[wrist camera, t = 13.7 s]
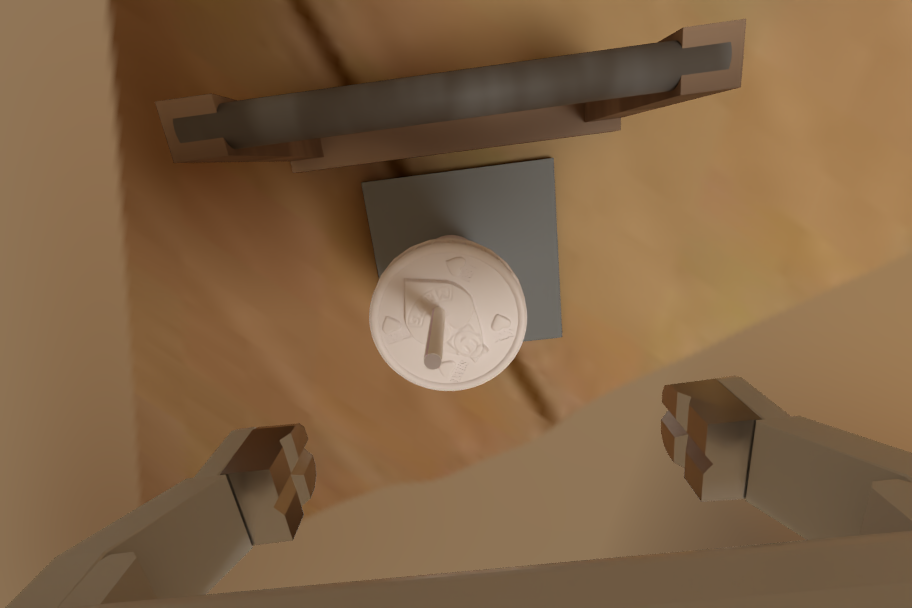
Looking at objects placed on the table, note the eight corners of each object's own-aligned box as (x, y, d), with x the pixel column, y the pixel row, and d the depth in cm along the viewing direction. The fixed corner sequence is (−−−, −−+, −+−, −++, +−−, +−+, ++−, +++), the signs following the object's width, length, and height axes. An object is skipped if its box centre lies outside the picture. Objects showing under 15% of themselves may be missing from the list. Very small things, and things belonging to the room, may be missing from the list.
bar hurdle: (287, 116, 24) (142, 79, 13) (612, 72, 23) (754, -8, 12) (300, 172, 25) (175, 182, 14) (613, 131, 24) (744, 107, 13)
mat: (363, 182, 25) (361, 182, 25) (551, 157, 25) (553, 157, 24) (394, 352, 29) (393, 355, 28) (560, 334, 28) (562, 337, 28)
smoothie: (453, 188, 25) (449, 221, 11) (525, 267, 26) (596, 378, 13) (376, 262, 26) (294, 369, 13) (449, 334, 28) (442, 495, 14)
